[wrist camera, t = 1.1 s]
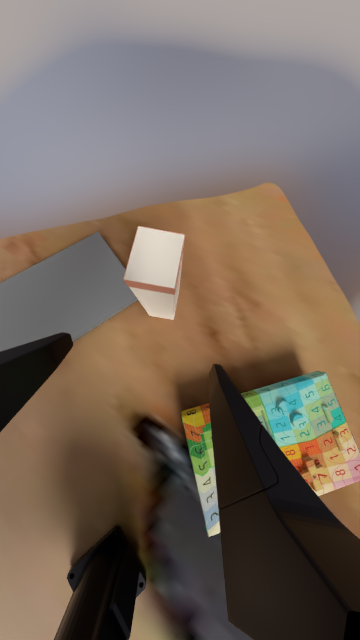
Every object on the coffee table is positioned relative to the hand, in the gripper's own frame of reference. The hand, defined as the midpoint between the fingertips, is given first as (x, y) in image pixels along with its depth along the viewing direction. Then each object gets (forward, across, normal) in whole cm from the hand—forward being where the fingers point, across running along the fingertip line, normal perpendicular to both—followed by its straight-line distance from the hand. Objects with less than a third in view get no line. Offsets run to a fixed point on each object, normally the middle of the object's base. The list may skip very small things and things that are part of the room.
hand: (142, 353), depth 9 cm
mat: (+12, +18, +6) cm, 23 cm away
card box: (+15, +1, +3) cm, 15 cm away
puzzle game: (+5, -16, +15) cm, 22 cm away
